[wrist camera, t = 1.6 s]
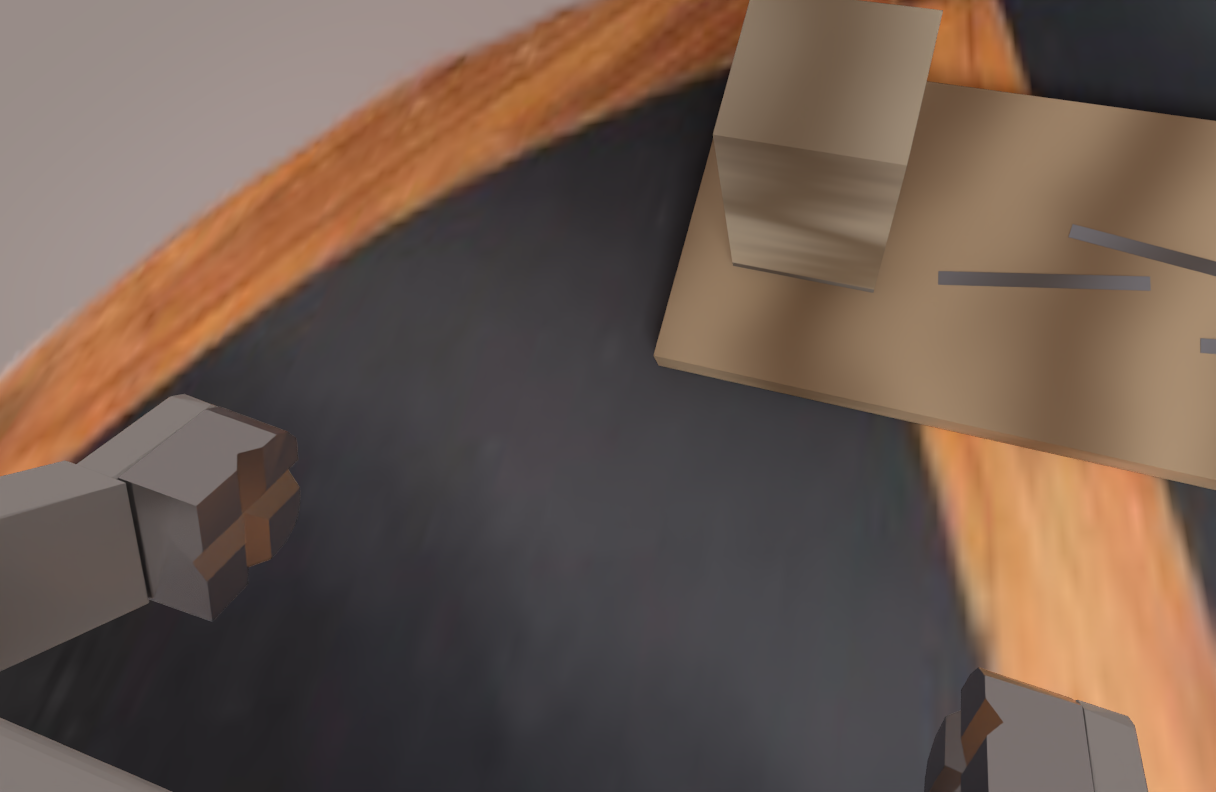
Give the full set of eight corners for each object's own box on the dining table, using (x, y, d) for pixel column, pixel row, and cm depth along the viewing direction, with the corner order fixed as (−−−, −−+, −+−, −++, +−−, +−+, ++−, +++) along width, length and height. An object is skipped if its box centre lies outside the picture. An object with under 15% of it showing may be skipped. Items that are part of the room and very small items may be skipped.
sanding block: (900, 177, 30) (943, 10, 22) (873, 292, 29) (907, 165, 21) (762, 155, 31) (753, -12, 23) (732, 265, 30) (712, 134, 22)
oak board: (1618, 200, 27) (1656, 181, 26) (1587, 573, 25) (1627, 570, 24) (737, 74, 33) (736, 54, 32) (658, 365, 31) (653, 355, 30)
